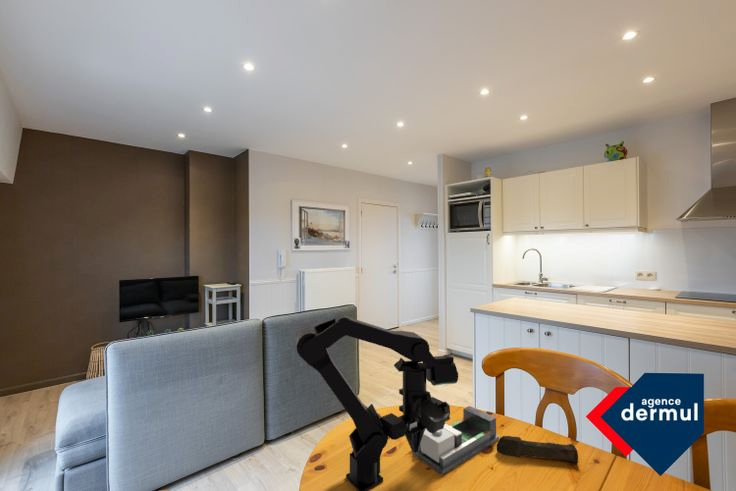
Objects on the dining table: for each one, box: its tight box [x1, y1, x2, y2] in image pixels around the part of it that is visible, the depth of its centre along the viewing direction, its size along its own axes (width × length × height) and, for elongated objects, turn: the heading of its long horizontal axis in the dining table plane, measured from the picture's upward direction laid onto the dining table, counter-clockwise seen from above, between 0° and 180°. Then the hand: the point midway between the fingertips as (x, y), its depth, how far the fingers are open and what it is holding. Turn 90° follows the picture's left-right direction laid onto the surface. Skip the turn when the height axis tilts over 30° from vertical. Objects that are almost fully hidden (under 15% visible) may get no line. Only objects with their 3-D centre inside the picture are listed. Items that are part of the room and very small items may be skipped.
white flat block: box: [443, 423, 462, 448], centre depth 86 cm, size 2×6×4 cm, turn 37°
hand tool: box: [496, 435, 579, 465], centre depth 84 cm, size 19×4×5 cm, turn 77°
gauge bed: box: [412, 405, 500, 476], centre depth 88 cm, size 24×10×6 cm, turn 127°
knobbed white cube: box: [421, 429, 454, 463], centre depth 83 cm, size 6×6×5 cm
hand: (414, 451), depth 78 cm, fingers closed
